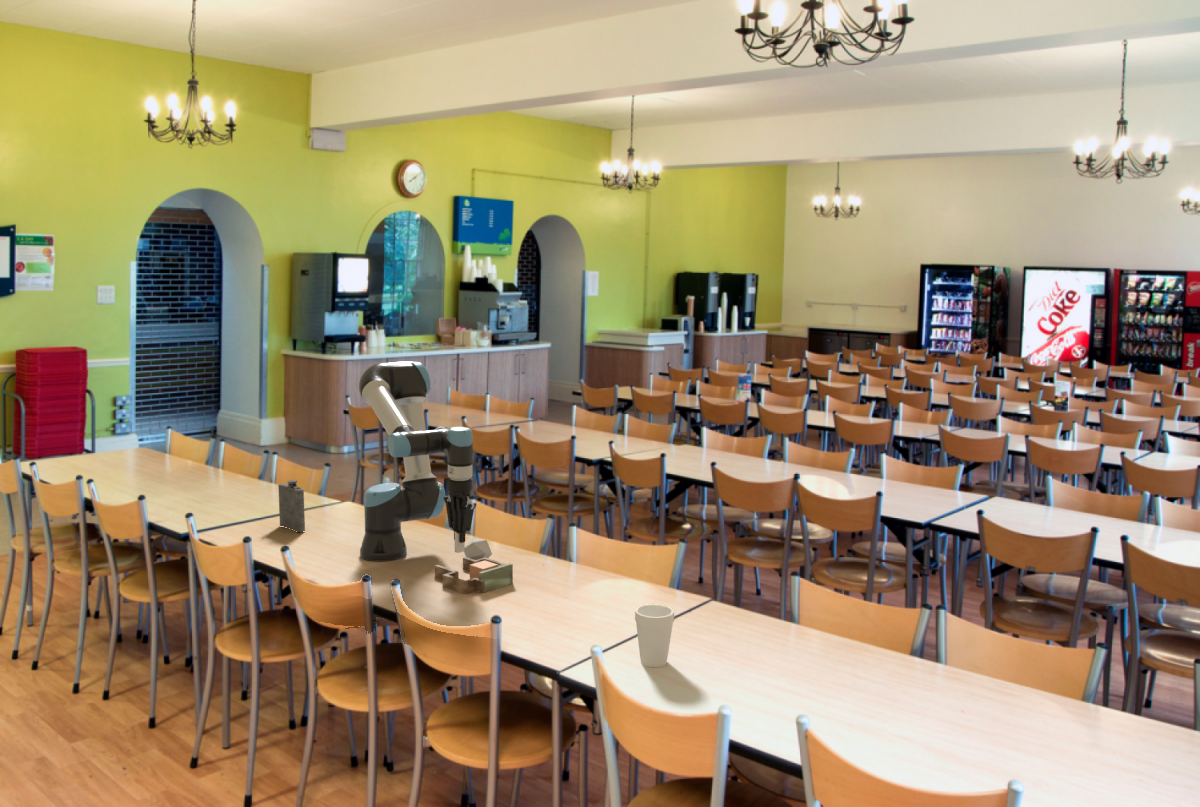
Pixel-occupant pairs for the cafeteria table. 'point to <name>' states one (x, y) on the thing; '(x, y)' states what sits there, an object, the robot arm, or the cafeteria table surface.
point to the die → (477, 549)
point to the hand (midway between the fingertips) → (459, 551)
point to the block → (480, 568)
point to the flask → (291, 506)
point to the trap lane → (484, 583)
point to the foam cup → (654, 633)
